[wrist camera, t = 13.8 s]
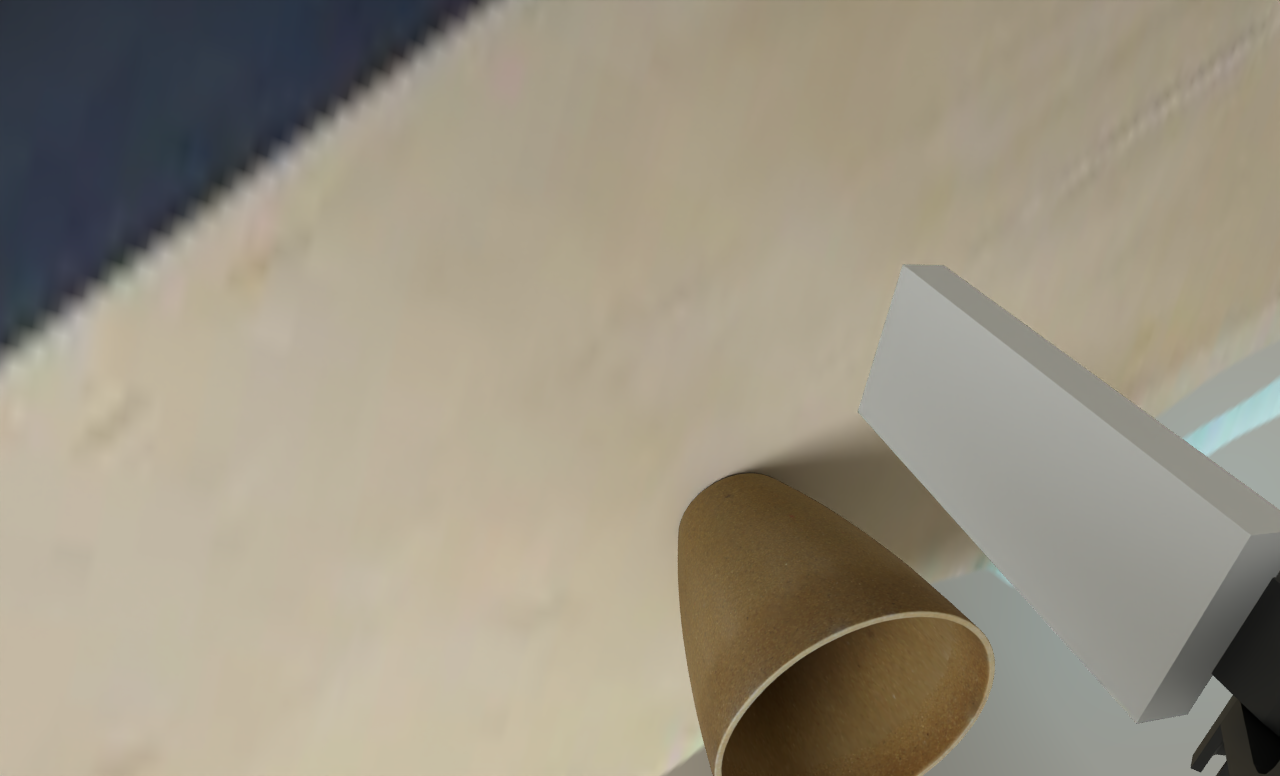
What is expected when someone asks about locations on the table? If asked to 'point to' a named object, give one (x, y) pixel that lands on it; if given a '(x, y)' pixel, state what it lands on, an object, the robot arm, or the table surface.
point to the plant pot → (817, 642)
